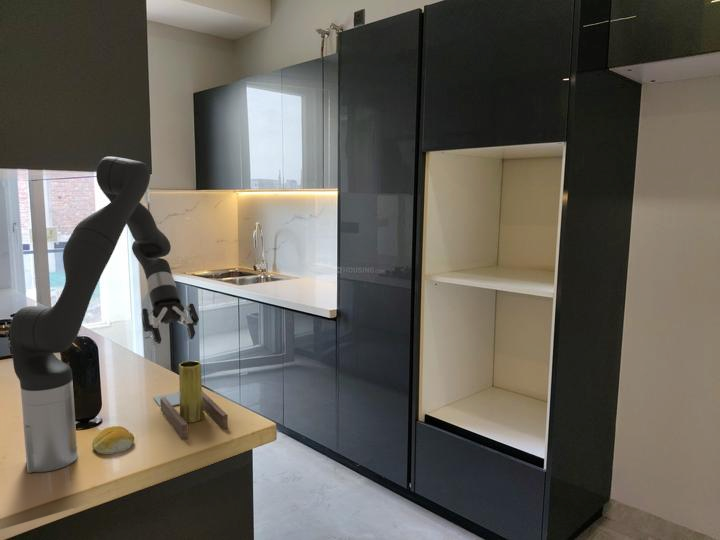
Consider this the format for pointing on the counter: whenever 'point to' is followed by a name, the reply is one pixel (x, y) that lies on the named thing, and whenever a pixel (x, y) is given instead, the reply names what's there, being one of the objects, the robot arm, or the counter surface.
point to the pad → (169, 398)
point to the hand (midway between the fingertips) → (176, 339)
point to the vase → (191, 391)
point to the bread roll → (112, 440)
